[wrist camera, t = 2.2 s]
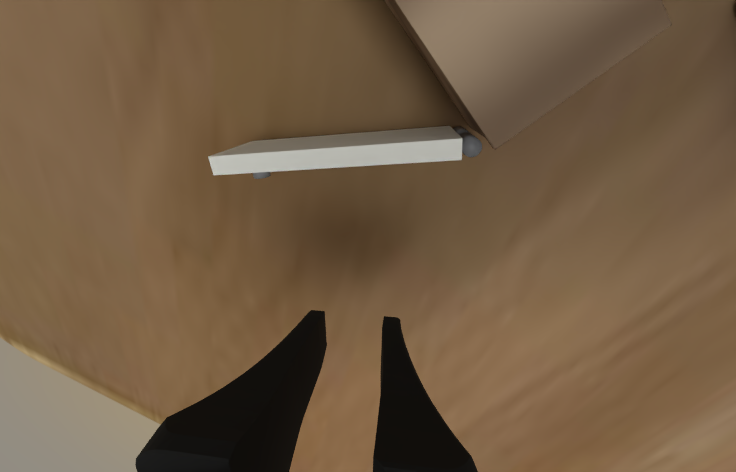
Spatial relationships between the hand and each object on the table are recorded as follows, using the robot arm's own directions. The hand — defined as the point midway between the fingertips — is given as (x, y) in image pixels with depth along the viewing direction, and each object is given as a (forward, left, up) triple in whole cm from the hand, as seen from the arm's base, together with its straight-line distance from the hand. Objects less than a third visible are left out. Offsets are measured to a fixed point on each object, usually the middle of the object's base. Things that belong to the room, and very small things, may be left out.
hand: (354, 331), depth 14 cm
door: (+6, -3, -10) cm, 12 cm away
